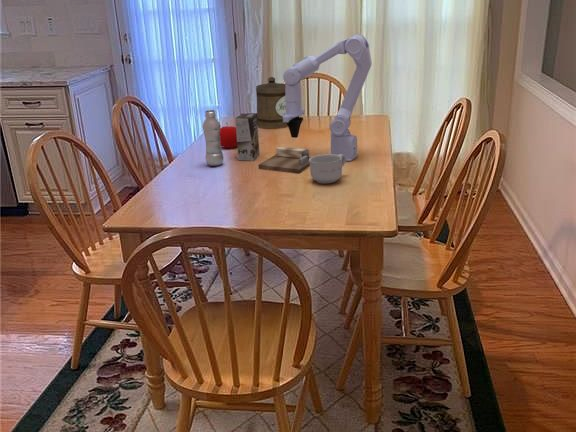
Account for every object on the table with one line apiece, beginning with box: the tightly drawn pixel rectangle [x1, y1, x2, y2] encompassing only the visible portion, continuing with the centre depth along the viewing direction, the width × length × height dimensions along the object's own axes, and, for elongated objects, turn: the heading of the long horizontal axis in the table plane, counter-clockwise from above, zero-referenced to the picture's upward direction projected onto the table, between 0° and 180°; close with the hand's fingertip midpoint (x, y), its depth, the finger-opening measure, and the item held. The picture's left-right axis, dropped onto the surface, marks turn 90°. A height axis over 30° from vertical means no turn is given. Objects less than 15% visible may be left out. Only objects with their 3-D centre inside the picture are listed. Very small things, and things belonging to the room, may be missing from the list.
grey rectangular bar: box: [275, 146, 310, 158], centre depth 209 cm, size 12×3×3 cm, turn 64°
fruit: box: [220, 122, 237, 149], centre depth 230 cm, size 9×9×10 cm
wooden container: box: [255, 76, 288, 130], centre depth 260 cm, size 15×15×22 cm
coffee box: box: [235, 112, 261, 162], centre depth 214 cm, size 9×6×16 cm
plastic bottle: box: [202, 109, 224, 167], centre depth 206 cm, size 6×7×20 cm
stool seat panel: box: [258, 154, 312, 174], centre depth 205 cm, size 16×15×4 cm
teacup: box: [309, 153, 347, 184], centre depth 188 cm, size 14×11×8 cm
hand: (294, 137), depth 214 cm, fingers closed
